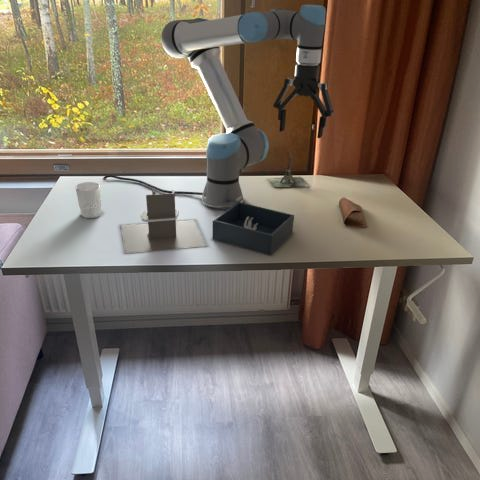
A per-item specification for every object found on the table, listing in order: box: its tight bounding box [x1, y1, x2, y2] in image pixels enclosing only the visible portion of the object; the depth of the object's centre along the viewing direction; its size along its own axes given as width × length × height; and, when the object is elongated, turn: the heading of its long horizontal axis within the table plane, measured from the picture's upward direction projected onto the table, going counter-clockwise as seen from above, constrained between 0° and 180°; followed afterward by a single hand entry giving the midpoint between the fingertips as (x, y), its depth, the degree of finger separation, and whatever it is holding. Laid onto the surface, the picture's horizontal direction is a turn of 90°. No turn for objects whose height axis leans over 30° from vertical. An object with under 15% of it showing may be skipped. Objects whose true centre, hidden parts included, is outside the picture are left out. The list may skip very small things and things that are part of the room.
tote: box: [212, 202, 295, 256], centre depth 163 cm, size 21×18×7 cm
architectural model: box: [120, 189, 207, 254], centre depth 159 cm, size 20×25×15 cm
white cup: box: [74, 181, 102, 219], centre depth 171 cm, size 8×8×10 cm
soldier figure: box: [244, 217, 258, 230], centre depth 164 cm, size 8×5×12 cm
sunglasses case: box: [338, 197, 367, 228], centre depth 180 cm, size 18×7×7 cm, turn 178°
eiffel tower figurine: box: [266, 150, 310, 188], centre depth 202 cm, size 15×10×13 cm
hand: (300, 133), depth 169 cm, fingers open, 13 cm apart
